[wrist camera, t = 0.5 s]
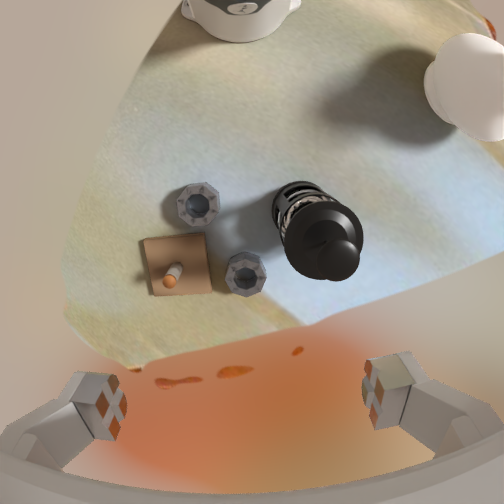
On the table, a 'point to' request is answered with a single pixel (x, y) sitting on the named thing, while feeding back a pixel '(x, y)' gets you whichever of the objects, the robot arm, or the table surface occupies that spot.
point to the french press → (317, 232)
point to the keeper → (178, 264)
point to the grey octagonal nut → (190, 214)
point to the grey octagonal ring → (241, 285)
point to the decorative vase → (469, 85)
